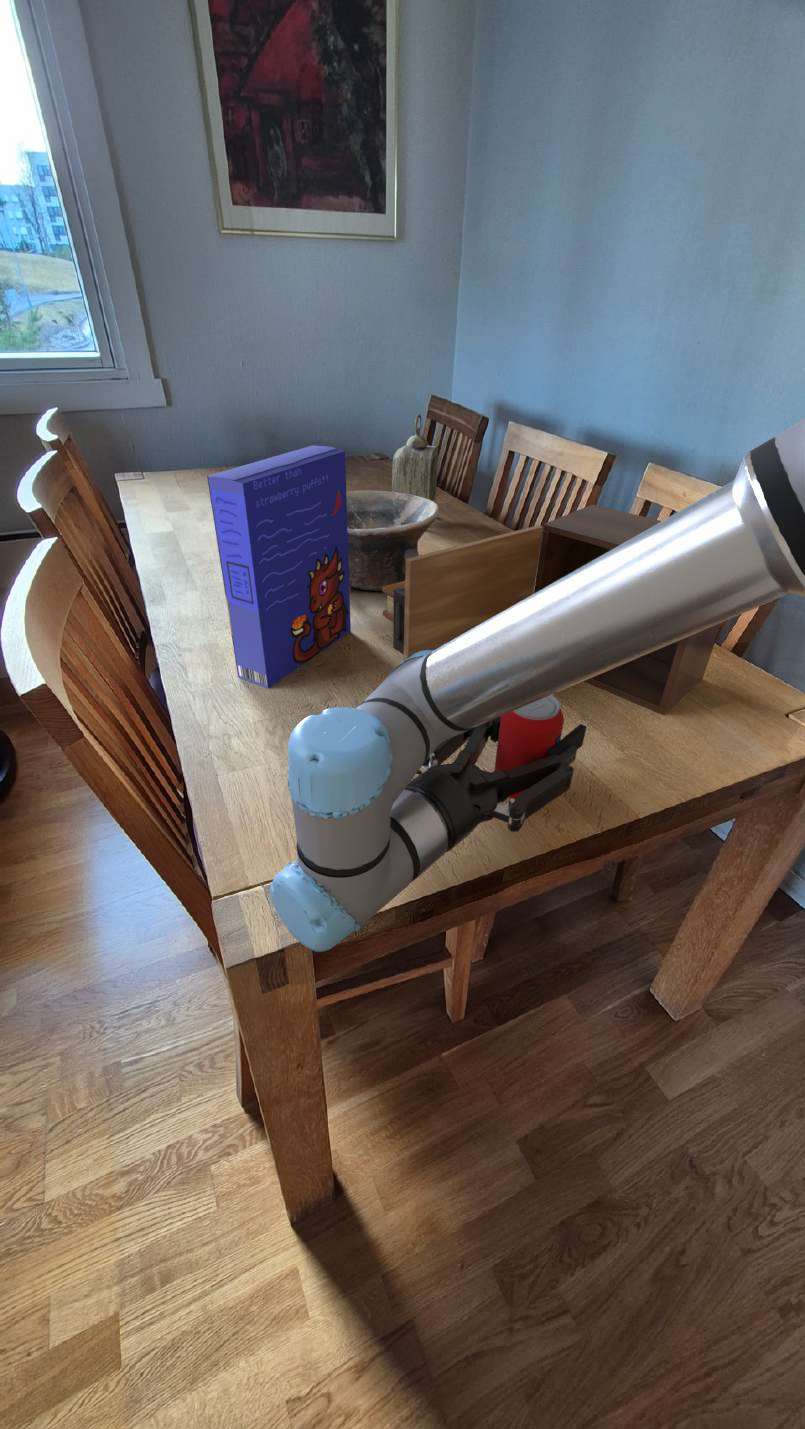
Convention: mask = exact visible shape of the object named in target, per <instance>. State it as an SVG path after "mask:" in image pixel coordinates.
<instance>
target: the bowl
mask: <svg viewBox="0 0 805 1429" xmlns="http://www.w3.org/2000/svg"><path fill="white" fill-rule="evenodd" d="M346 496H347V527H348V558H349V588H354V589H356V590H364V591H371V592H372V591H373V592H374V591H375V592H377V591H378V592H381V591H382V587H384V586H387V585H391V584H395V583H399V582H403V581H405V579H406V559H408V558H412V557H416V556H420V554H419V549H418V544H419V540H420V539H421V538H422V537H423V535H424V534H425V532H427V530H428V529H429V528H430V527H431V526H432V525H433V524H434V523H435V521H436V520H437V519H438V518H439V515H440V513H441V507H440V505H439V504H438V503H434V502H433V501H431V500H429V499H426V498H422V497H419V496H415V495H411V494H404V493H397V492H392V491H388V490H387V491H386V490H385V491H383V490H350V491H346Z"/></svg>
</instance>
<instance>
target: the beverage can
mask: <svg viewBox="0 0 805 1429" xmlns="http://www.w3.org/2000/svg"><path fill="white" fill-rule="evenodd" d="M564 722H565V717H564V713H563V711H562V709H561V704H560V701H559V700H558V698H557V697H555V696H554V695H553V694H552V695H549V696H547V697H545V698H542V699H540V700H538V701H535V702H533V703H531V704H528V705H526V706H523V707H521V708H519V709H516V710H514V711H512V712H509V713H507V714H505V715H502V716H501V722H500V729H499V737H498V741H497V746H496V752H495V763H494V771H496V770H499V769H502V770H503V771H507V770H510V769H513V768H516V767H519V766H522V765H525V764H528V763H531V762H534V761H537V760H540V759H543V758H546V757H548V753H549V749H550V748H551V747H553V746H554V745H555V744H556V743H557V742H559V741H560V740H561V739H562V734H563V729H564ZM522 792H524V791H522ZM522 792H519V793H516V794H514V795H511V796H509V797H508V798H509V799H511V798H513V799H516V798H517V797H518V796H519V795H520V794H521V793H522Z"/></svg>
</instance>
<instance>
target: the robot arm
mask: <svg viewBox="0 0 805 1429" xmlns="http://www.w3.org/2000/svg"><path fill="white" fill-rule="evenodd" d="M736 473H737V474H736V475H735V477H734V479H733V480H731V481H730V482H729V483H727V484H725V485H723V486H722V487H720V488H718V489H715V491H713V492H711V493H710V494H707V495H706V496H703V497H702V498H701V499H699V500H697V501H694V502H693V503H691V504H690V505H688V506H686V507H685V508H683V509H681V510H679V511H678V512H676V513H674V514H672V515H670V516H669V517H667V518H665V519H664V520H661V521H662V522H660V523H658V524H656V525H655V526H653V527H651V528H649V529H647V530H646V531H644V532H642V533H640V534H639V535H637V536H635V537H633V538H632V539H630V540H628V541H626V542H624V543H623V544H621V545H619V546H617V547H616V548H614V549H612V550H610V551H609V552H607V553H605V554H603V555H602V556H600V557H598V558H596V559H594V560H593V561H591V562H589V563H587V564H586V565H584V566H582V567H580V568H579V569H577V570H575V571H573V572H572V573H570V574H568V575H566V576H564V577H563V578H561V579H559V580H557V581H556V582H554V583H552V584H550V585H549V586H547V587H545V588H543V589H542V590H540V591H538V592H536V593H534V592H533V595H531V596H529V597H527V598H526V599H524V600H522V601H520V602H519V603H517V604H515V605H513V606H511V607H510V608H508V609H506V610H504V611H503V612H501V613H499V614H497V615H496V616H494V617H492V618H490V619H489V620H487V621H485V622H483V623H481V624H480V625H478V626H476V627H474V628H473V629H471V630H469V631H467V632H466V633H464V634H462V635H460V636H459V637H457V638H455V639H453V640H451V641H450V642H448V643H446V644H444V645H443V646H441V647H439V648H437V649H436V650H424V651H420V652H417V653H415V654H413V655H412V656H410V657H409V658H408V659H406V660H405V661H404V660H403V661H402V662H401V663H399V664H398V665H396V666H395V667H394V668H393V669H392V670H391V671H390V673H389V674H388V676H387V677H386V678H385V679H384V680H383V681H382V682H381V683H380V684H379V685H378V686H377V687H376V688H375V689H374V690H373V691H372V692H371V693H370V694H369V695H368V696H367V697H366V698H365V699H364V700H363V701H362V702H361V703H360V704H359V705H358V706H356V707H347V706H345V707H344V706H343V707H341V706H337V707H329V708H326V709H323V710H322V711H321V713H320V714H310V715H308V716H306V717H305V718H303V719H302V720H300V722H298V723H297V724H296V726H295V727H294V728H293V730H292V731H291V733H290V736H289V739H288V743H287V759H288V769H287V780H286V781H287V787H288V792H289V794H290V797H291V806H292V812H293V813H292V814H293V820H294V829H295V838H296V856H297V858H296V859H295V860H294V861H291V862H287V864H286V865H285V866H284V868H282V869H281V870H280V871H279V872H278V873H277V874H276V875H275V876H274V878H273V880H272V882H271V884H270V886H269V887H270V888H269V893H270V898H271V902H272V905H273V908H274V909H275V911H276V913H277V915H278V917H279V919H280V920H281V922H282V923H283V925H284V927H285V928H286V929H287V931H288V932H289V933H290V934H291V935H292V936H293V937H294V938H295V940H297V942H299V943H300V944H301V945H302V946H304V947H306V948H308V949H309V950H311V951H315V952H327V951H330V950H331V949H332V948H334V947H335V946H336V945H337V944H338V943H340V942H342V941H343V940H344V939H345V938H347V937H348V936H349V935H351V934H352V933H353V932H358V931H360V929H361V928H362V926H363V925H365V924H366V923H367V922H368V921H369V920H370V919H372V918H373V917H375V915H376V914H377V913H378V912H380V911H381V910H382V909H384V907H385V906H387V905H388V904H389V902H391V901H392V900H394V899H395V898H396V897H397V896H398V895H400V893H401V892H403V891H404V890H405V889H406V888H407V887H408V886H410V884H411V883H412V882H414V881H415V880H417V879H418V878H419V877H420V876H421V875H423V874H424V873H425V872H426V871H427V870H429V868H431V867H433V865H434V864H436V863H437V862H438V861H439V860H440V859H442V858H443V857H444V856H445V855H446V854H447V853H449V852H451V851H452V850H453V849H454V848H455V847H456V846H457V845H459V844H460V843H461V842H462V841H464V840H465V839H466V838H467V837H468V836H470V835H471V834H472V833H473V831H474V830H475V829H476V828H477V827H478V826H479V824H481V823H485V822H488V821H491V820H493V819H497V820H499V821H502V822H504V823H507V830H508V831H509V832H512V833H518V832H519V831H520V830H521V829H522V827H523V825H524V823H525V821H526V820H527V819H528V818H530V817H531V816H532V815H534V814H535V813H537V812H538V811H540V810H541V809H543V808H544V807H545V806H547V805H549V804H550V803H551V802H552V801H554V800H556V799H557V798H559V797H560V796H562V795H564V793H566V792H567V791H570V789H571V785H572V781H573V776H574V771H575V769H574V767H573V766H571V765H572V764H573V763H575V761H576V757H577V753H578V750H579V749H580V748H582V747H583V746H584V740H585V736H586V732H587V725H585V724H582V723H580V724H579V725H577V726H576V727H575V728H574V729H572V730H571V731H569V733H567V734H566V735H565V736H563V737H561V740H560V741H559V742H557V743H556V744H555V745H554V746H553V747H551V748H550V749H549V753H548V757H546V758H543V759H540V760H537V761H534V762H531V763H528V764H525V765H522V766H519V767H516V768H513V769H510V770H507V771H503V770H502V769H499V770H496V771H491V772H490V771H486V770H484V769H481V768H480V767H479V766H478V765H477V764H476V763H477V762H478V760H479V758H480V757H481V755H482V752H483V750H484V748H485V747H486V745H487V743H488V741H489V740H490V741H491V742H493V743H498V737H499V729H500V722H501V716H502V715H505V714H507V713H509V712H512V711H514V710H516V709H519V708H521V707H523V706H526V705H528V704H531V703H533V702H535V701H538V700H540V699H542V698H545V697H547V696H549V695H552V696H553V695H554V694H556V693H559V692H561V691H563V690H566V689H569V688H571V687H573V686H575V685H578V684H580V683H583V682H584V681H585V680H587V679H589V678H592V677H594V676H597V675H599V674H601V673H604V672H606V671H608V670H611V669H613V668H615V667H618V666H620V665H622V664H625V663H627V662H630V661H632V660H634V659H637V658H639V657H641V656H644V655H646V654H648V653H651V652H653V651H656V650H658V649H660V648H663V647H665V646H667V645H670V644H672V643H674V642H677V641H679V640H681V639H684V638H686V637H689V636H691V635H693V634H696V633H698V632H700V631H703V630H705V629H707V628H710V627H712V626H714V625H717V624H719V623H721V624H723V623H724V622H726V621H729V620H731V619H733V618H735V617H738V616H740V615H743V614H745V613H747V612H750V611H752V610H755V609H757V608H759V607H762V606H764V605H767V604H768V603H771V602H773V601H775V600H779V599H780V598H783V597H785V596H788V595H795V596H798V597H803V598H805V417H804V418H802V419H800V420H799V421H797V422H796V423H794V424H793V425H791V426H790V427H788V428H786V429H785V430H784V431H782V432H780V433H778V434H777V435H775V436H773V437H772V438H770V439H769V440H767V441H765V442H764V443H762V444H760V445H758V446H757V447H755V448H753V449H752V450H749V451H748V452H746V453H745V454H744V456H743V459H742V461H741V463H740V465H739V468H738V471H737V472H736ZM489 737H490V738H489ZM464 744H465V745H464ZM463 745H464V747H463V749H461V750H460V751H459V753H458V754H457V756H456V758H455V759H454V761H453V762H452V763H444V762H446V760H448V759H449V758H450V757H451V756H452V755H453V754H454V753H456V752H457V751H458V750H459V749H460V748H461V747H462V746H463ZM416 775H417V776H416ZM522 791H524V792H522ZM519 792H522V793H521V794H520V795H519V796H518V797H517V798H516V799H513V798H509V796H511V795H514V794H516V793H519ZM508 798H509V800H508V801H507V802H506V803H504V804H500V803H503V802H505V801H506V800H507V799H508Z"/></svg>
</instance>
